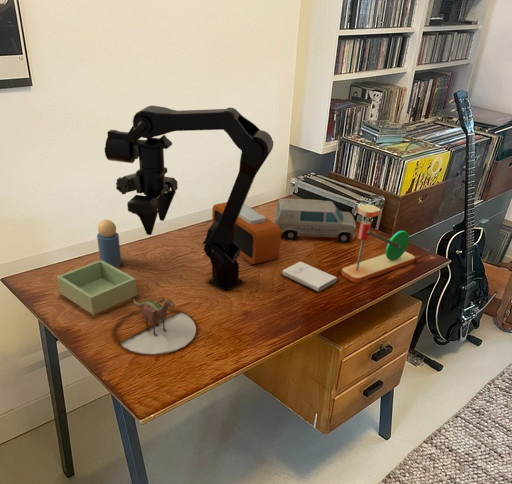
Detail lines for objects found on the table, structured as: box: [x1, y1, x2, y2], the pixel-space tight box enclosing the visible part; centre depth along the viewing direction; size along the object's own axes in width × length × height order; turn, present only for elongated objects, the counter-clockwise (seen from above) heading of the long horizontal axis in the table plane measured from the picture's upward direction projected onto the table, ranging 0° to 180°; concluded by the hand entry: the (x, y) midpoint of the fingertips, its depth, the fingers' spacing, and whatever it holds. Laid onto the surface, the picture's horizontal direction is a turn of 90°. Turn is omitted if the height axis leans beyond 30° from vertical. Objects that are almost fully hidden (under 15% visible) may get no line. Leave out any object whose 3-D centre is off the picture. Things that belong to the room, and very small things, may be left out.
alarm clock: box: [211, 201, 282, 265], centre depth 152 cm, size 24×8×11 cm, turn 34°
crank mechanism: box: [340, 203, 416, 283], centre depth 144 cm, size 25×7×19 cm, turn 126°
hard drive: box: [281, 261, 338, 293], centre depth 142 cm, size 2×8×12 cm
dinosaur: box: [118, 298, 197, 356], centre depth 115 cm, size 18×18×11 cm
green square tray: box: [56, 259, 138, 315], centre depth 127 cm, size 14×13×6 cm
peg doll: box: [96, 219, 122, 268], centre depth 138 cm, size 5×5×13 cm
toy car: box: [273, 198, 357, 244], centre depth 163 cm, size 11×25×10 cm, turn 90°
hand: (155, 227), depth 132 cm, fingers open, 9 cm apart
